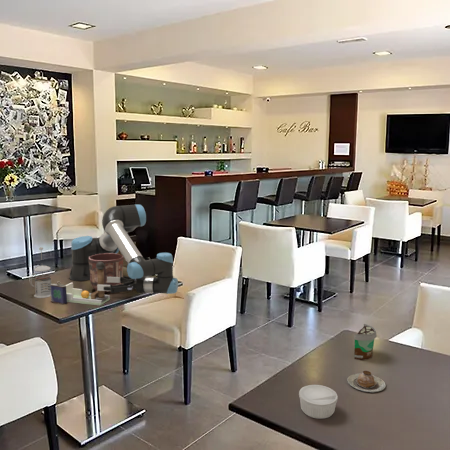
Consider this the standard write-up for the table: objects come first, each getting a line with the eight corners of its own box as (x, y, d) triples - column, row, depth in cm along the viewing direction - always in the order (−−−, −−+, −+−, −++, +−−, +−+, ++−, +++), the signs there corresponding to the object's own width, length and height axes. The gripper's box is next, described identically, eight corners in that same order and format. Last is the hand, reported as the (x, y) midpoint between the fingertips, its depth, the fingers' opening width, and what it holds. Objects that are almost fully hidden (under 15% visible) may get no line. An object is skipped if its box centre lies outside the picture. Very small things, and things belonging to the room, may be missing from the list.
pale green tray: (71, 295, 246) (70, 282, 245) (110, 299, 241) (109, 285, 239) (60, 301, 238) (59, 287, 236) (100, 305, 232) (99, 291, 230)
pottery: (103, 297, 244) (102, 262, 241) (83, 290, 255) (81, 256, 253) (130, 289, 258) (130, 256, 255) (110, 283, 269) (109, 251, 266)
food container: (370, 364, 171) (371, 337, 169) (353, 360, 174) (354, 334, 172) (379, 352, 181) (380, 326, 180) (363, 348, 184) (364, 323, 183)
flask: (50, 302, 236) (48, 280, 234) (54, 300, 239) (53, 279, 237) (64, 304, 232) (63, 283, 231) (69, 303, 235) (68, 281, 233)
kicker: (97, 296, 240) (95, 259, 237) (108, 297, 239) (106, 260, 236) (91, 300, 235) (89, 262, 231) (102, 301, 233) (100, 263, 230)
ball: (84, 296, 241) (83, 289, 241) (91, 297, 240) (90, 289, 240) (79, 299, 237) (79, 291, 237) (86, 299, 236) (86, 292, 236)
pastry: (339, 383, 159) (340, 370, 158) (363, 373, 165) (363, 360, 165) (369, 398, 149) (370, 384, 148) (393, 387, 156) (394, 374, 155)
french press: (57, 294, 248) (55, 247, 243) (35, 299, 239) (32, 250, 235) (48, 290, 254) (45, 244, 250) (26, 295, 246) (23, 247, 242)
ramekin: (324, 426, 134) (325, 408, 133) (290, 411, 141) (291, 394, 140) (344, 409, 142) (344, 393, 141) (311, 396, 149) (311, 380, 148)
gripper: (138, 300, 221) (93, 299, 223) (151, 284, 245) (111, 283, 247) (138, 284, 219) (92, 283, 221) (151, 270, 244) (110, 269, 246)
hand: (102, 283), depth 234 cm, fingers open, 13 cm apart
